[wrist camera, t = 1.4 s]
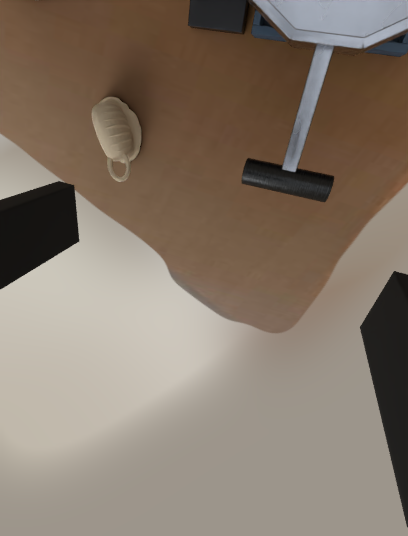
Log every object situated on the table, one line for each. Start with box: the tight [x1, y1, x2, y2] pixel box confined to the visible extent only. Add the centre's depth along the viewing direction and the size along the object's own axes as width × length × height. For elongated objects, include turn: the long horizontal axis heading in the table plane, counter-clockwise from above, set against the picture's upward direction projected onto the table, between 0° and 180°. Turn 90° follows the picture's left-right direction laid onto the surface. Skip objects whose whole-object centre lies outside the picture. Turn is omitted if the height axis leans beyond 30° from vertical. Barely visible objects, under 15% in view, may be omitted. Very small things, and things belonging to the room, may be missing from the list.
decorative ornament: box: [92, 97, 142, 182], centre depth 31 cm, size 4×8×5 cm, turn 12°
